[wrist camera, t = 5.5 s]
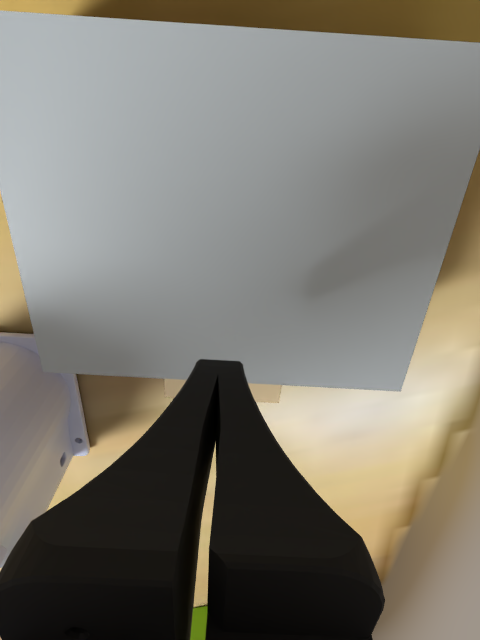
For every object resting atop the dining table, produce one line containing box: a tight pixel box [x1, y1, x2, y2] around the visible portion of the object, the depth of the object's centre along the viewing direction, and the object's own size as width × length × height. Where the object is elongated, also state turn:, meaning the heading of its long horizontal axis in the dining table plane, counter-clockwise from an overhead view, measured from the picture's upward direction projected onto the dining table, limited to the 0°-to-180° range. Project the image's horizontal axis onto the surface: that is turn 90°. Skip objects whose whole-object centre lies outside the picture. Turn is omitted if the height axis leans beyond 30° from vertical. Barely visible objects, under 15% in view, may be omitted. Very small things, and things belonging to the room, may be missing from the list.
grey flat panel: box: [0, 11, 480, 403], centre depth 14 cm, size 13×15×1 cm
